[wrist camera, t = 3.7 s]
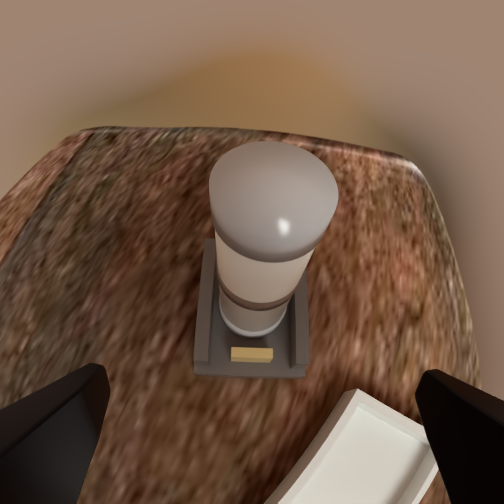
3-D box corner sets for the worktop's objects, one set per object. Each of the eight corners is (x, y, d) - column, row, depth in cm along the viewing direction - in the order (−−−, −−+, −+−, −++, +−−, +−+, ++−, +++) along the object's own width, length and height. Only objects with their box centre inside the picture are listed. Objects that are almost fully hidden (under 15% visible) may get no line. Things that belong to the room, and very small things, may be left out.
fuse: (259, 351, 19) (297, 264, 8) (206, 314, 20) (181, 191, 9) (295, 302, 20) (356, 178, 10) (244, 268, 22) (258, 127, 11)
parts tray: (345, 568, 11) (356, 581, 9) (241, 527, 13) (242, 541, 11) (432, 441, 17) (452, 441, 14) (343, 391, 19) (357, 388, 16)
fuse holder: (301, 378, 19) (313, 372, 16) (195, 374, 19) (189, 368, 16) (297, 259, 24) (306, 237, 21) (205, 254, 23) (202, 231, 20)
